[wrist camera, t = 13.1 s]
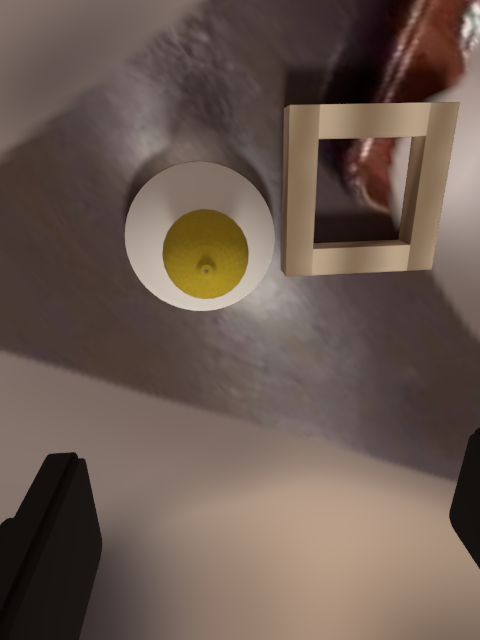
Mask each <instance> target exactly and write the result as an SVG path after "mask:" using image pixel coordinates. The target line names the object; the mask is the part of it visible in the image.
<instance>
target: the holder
mask: <svg viewBox="0 0 480 640" xmlns="http://www.w3.org/2000/svg"><path fill="white" fill-rule="evenodd" d="M459 104H460V102H432V103H376V104H320V105H289V106H287V107H285V108H284V128H283V187H282V246H281V270H282V271H283V273H284V274H285V276H306V275H327V274H347V273H367V272H387V271H408V270H428V269H432V263H433V257H434V251H435V245H436V240H437V233H438V227H439V222H440V216H441V210H442V204H443V198H444V192H445V186H446V181H447V175H448V169H449V163H450V157H451V151H452V145H453V140H454V134H455V128H456V122H457V116H458V110H459ZM385 137H412V141H411V148H410V156H409V163H408V171H407V178H406V186H405V193H404V201H403V209H402V216H401V224H400V231H399V239H398V240H378V241H355V242H332V243H313V241H314V220H315V199H316V179H317V158H318V139H343V138H385Z"/></svg>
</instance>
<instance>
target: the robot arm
mask: <svg viewBox="0 0 480 640" xmlns="http://www.w3.org/2000/svg"><path fill="white" fill-rule="evenodd" d="M449 517H450V522H451V524H452V527H453V529H454V530H455V532H456V533H457V535H458V537H459V538H460V540H461V541H462V542H463V544H464V545H465V547H466V549H467V550H468V552H469V553H470V555H471V556H472V558H473V559H474V561H475V562H476V564H477V565H478V567H479V569H480V428H478V429H477V430H476V431H475V433H474V434H472V435H471V436H470V438H469V440H468V444H467V448H466V452H465V456H464V459H463V463H462V467H461V471H460V474H459V478H458V482H457V486H456V490H455V493H454V497H453V501H452V505H451V509H450V513H449ZM101 552H102V537H101V532H100V527H99V523H98V518H97V513H96V508H95V504H94V499H93V494H92V489H91V484H90V480H89V475H88V470H87V465H86V461H85V459H83V458H81V459H78V456H77V454H76V453H74V452H71V453H56V454H49V455H47V457H46V459H45V460H44V462H43V464H42V466H41V468H40V470H39V471H38V473H37V475H36V477H35V479H34V481H33V483H32V485H31V487H30V488H29V490H28V492H27V494H26V496H25V498H24V500H23V502H22V503H21V505H20V507H19V509H18V511H17V513H16V515H15V517H14V518H8V519H6V520H5V521H4V522H2V524H1V525H0V640H79V637H80V633H81V629H82V625H83V621H84V618H85V614H86V610H87V606H88V602H89V599H90V595H91V591H92V588H93V583H94V580H95V576H96V572H97V569H98V565H99V561H100V557H101Z"/></svg>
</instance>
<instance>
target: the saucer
mask: <svg viewBox="0 0 480 640" xmlns="http://www.w3.org/2000/svg"><path fill="white" fill-rule="evenodd" d="M200 209H209V210H215V211H218V212H221V213H224V214H226V215H227V216H228V217H230V218H231V219H233V220H234V221H235V222H236V223H237V225H238V226H239V227H240V228H241V229H242V231H243V233H244V235H245V237H246V240H247V245H248V249H249V257H248V265H247V268H246V272H245V274H244V276H243V277H242V279H241V281H240V282H239V284H238V285H237V286H236V287H235V288H234V289H233V290H232V291H230V292H228V293H227V294H225V295H223V296H220V297H217V298H214V299H200V298H195V297H192V296H190V295H188V294H185V293H184V292H183V291H181V290H180V289H179V288H177V287H176V286H175V284H174V283H173V282H172V281H171V279H170V278H169V276H168V274H167V272H166V270H165V267H164V262H163V256H162V252H163V242H164V240H165V237H166V234H167V232H168V230H169V229H170V227H171V226H172V225H173V223H174V222H175V221H176V220H178V219H179V218H180V217H181V216H182V215H185V214H187V213H189V212H191V211H194V210H200ZM274 242H275V234H274V225H273V220H272V216H271V213H270V210H269V208H268V206H267V204H266V202H265V200H264V198H263V197H262V195H261V194H260V192H259V191H258V190H257V189H256V188H255V187H254V185H253V184H252V183H250V182H249V181H248V180H247V179H246V178H245V177H243V176H242V175H240V174H239V173H237V172H236V171H234V170H232V169H230V168H228V167H225V166H222V165H219V164H216V163H211V162H201V161H194V162H185V163H181V164H177V165H174V166H172V167H169V168H167V169H165V170H163V171H162V172H160V173H158V174H156V175H155V176H154V177H153V178H151V179H150V180H149V181H148V182H147V183H146V184H145V185H144V186H143V187H142V188H141V190H140V191H139V192H138V194H137V195H136V197H135V198H134V200H133V202H132V204H131V207H130V209H129V212H128V215H127V220H126V225H125V244H126V250H127V255H128V257H129V260H130V263H131V265H132V267H133V269H134V271H135V273H136V275H137V276H138V278H139V279H140V281H141V282H142V283H143V284H144V285H145V286H146V288H147V289H149V290H150V291H151V292H152V293H153V294H154V295H156V296H157V297H158V298H160V299H161V300H163V301H165V302H167V303H169V304H171V305H174V306H176V307H179V308H183V309H187V310H194V311H208V310H216V309H220V308H224V307H226V306H229V305H232V304H234V303H236V302H237V301H239V300H241V299H242V298H244V297H245V296H247V295H248V294H249V293H250V292H251V291H252V290H253V289H254V288H255V287H256V286H257V285H258V284H259V283H260V281H261V280H262V278H263V277H264V275H265V273H266V271H267V269H268V267H269V265H270V262H271V259H272V256H273V251H274Z"/></svg>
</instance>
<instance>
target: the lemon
mask: <svg viewBox="0 0 480 640" xmlns="http://www.w3.org/2000/svg"><path fill="white" fill-rule="evenodd" d="M162 256H163V262H164V267H165V270H166V272H167V274H168V276H169V278H170V279H171V281H172V282H173V283H174V284H175V286H176V287H177V288H179V289H180V290H181V291H183V292H184V293H185V294H188V295H190V296H192V297H195V298H200V299H214V298H217V297H220V296H223V295H225V294H227V293H228V292H230V291H232V290H233V289H234V288H235V287H236V286H237V285H238V284H239V282H240V281H241V279H242V277H243V276H244V274H245V272H246V268H247V265H248V257H249V249H248V245H247V240H246V237H245V235H244V233H243V231H242V229H241V228H240V227H239V226H238V225H237V223H236V222H235V221H234V220H233V219H231V218H230V217H228V216H227V215H226V214H224V213H221V212H218V211H215V210H209V209H200V210H194V211H191V212H189V213H187V214H185V215H182V216H181V217H180V218H179V219H178V220H176V221H175V222H174V223H173V225H172V226H171V227H170V229H169V230H168V232H167V234H166V237H165V240H164V242H163V252H162Z"/></svg>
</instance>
